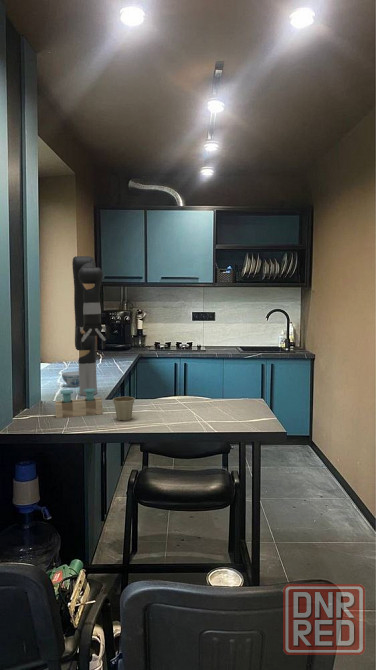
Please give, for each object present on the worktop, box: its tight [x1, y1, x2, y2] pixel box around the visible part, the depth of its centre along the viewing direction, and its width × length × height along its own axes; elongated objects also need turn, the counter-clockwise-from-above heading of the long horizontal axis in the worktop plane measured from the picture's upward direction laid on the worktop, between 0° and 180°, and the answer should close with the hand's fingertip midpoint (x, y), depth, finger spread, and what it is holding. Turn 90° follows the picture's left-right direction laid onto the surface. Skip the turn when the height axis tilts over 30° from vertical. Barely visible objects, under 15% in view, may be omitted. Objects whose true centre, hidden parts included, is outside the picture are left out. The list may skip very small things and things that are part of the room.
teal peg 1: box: [60, 389, 74, 403], centre depth 199 cm, size 5×5×7 cm
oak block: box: [54, 397, 104, 419], centre depth 201 cm, size 7×20×6 cm, turn 106°
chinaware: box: [61, 370, 80, 388], centre depth 270 cm, size 15×15×8 cm
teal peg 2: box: [84, 388, 96, 401], centre depth 202 cm, size 5×5×7 cm
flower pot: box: [112, 396, 136, 421], centre depth 191 cm, size 9×9×9 cm
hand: (93, 349), depth 200 cm, fingers open, 8 cm apart
